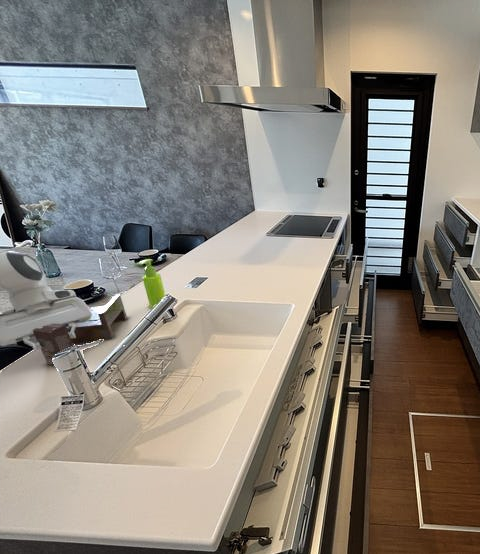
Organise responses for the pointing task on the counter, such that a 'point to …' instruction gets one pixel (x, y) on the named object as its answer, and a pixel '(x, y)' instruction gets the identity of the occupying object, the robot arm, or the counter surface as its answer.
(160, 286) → the soap dispenser
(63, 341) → the box
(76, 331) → the dark square tray
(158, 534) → the counter surface
